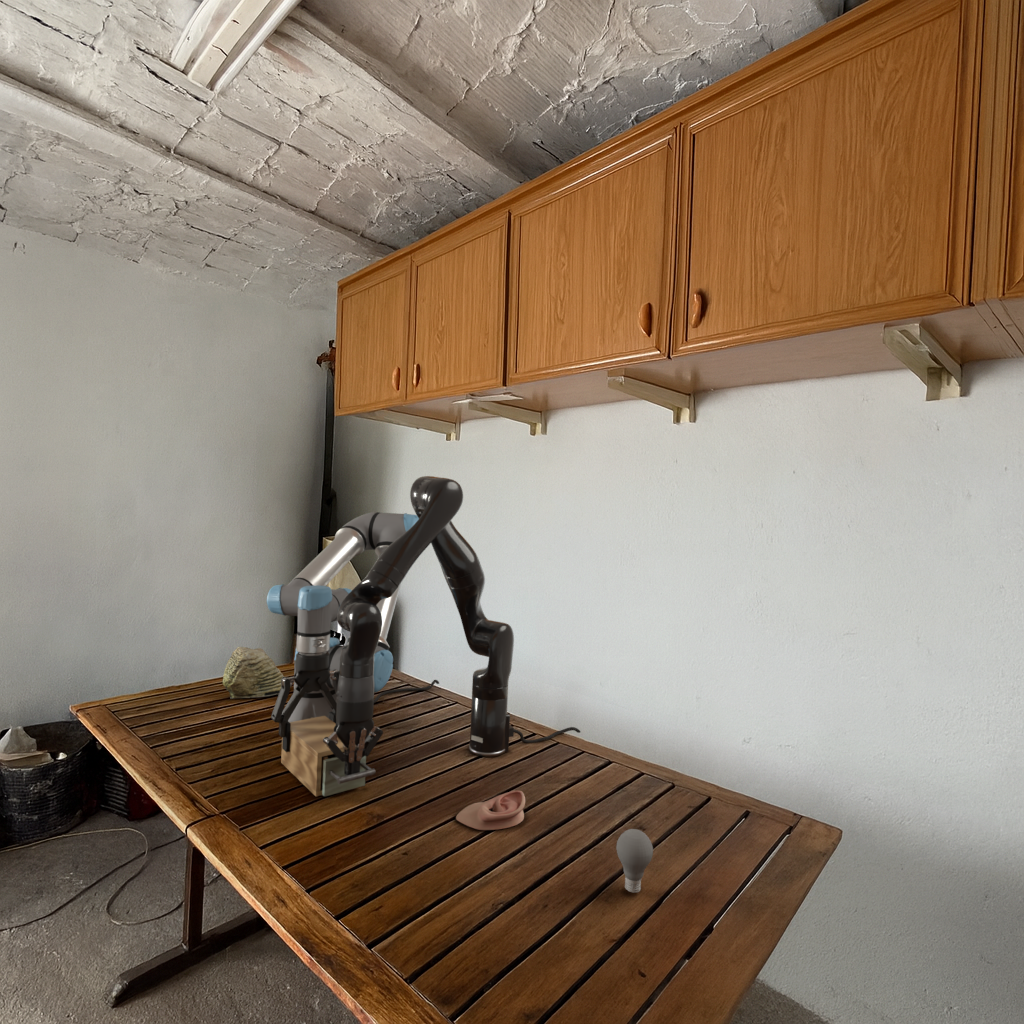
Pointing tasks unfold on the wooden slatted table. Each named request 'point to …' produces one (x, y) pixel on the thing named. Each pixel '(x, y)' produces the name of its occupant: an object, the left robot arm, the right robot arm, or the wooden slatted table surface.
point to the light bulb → (634, 857)
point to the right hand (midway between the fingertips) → (351, 777)
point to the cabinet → (309, 750)
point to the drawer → (341, 775)
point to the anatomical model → (495, 812)
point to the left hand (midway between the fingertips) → (309, 744)
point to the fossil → (251, 674)
